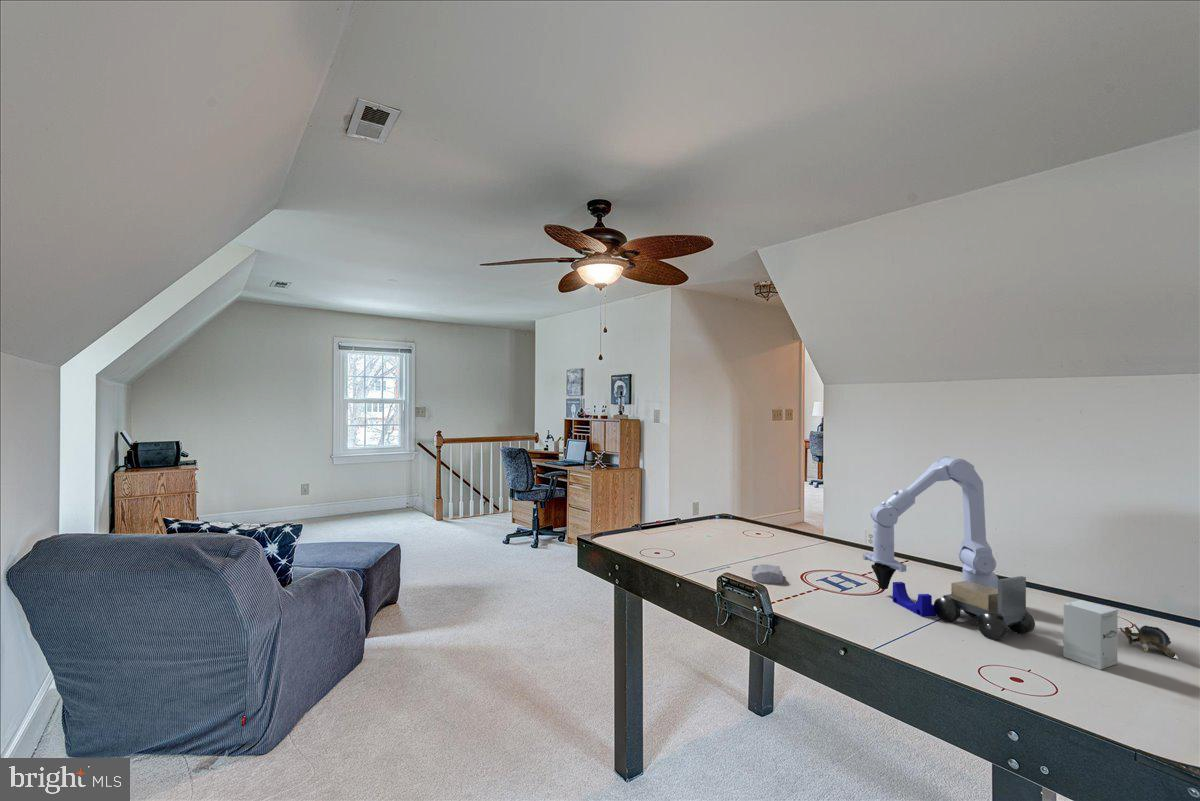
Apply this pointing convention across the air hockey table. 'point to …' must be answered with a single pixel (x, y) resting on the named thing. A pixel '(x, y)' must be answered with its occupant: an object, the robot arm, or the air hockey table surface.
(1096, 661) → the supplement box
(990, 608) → the trolley
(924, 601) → the cable clip
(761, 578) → the stone block
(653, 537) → the air hockey table surface
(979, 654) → the air hockey table surface
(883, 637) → the air hockey table surface
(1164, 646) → the brown animal figurine
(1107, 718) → the air hockey table surface
